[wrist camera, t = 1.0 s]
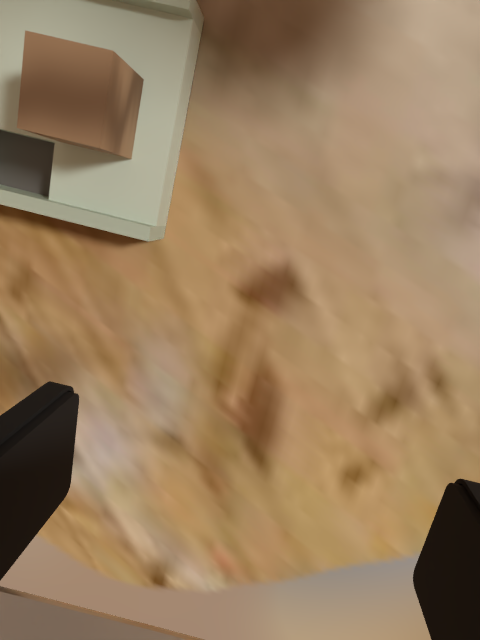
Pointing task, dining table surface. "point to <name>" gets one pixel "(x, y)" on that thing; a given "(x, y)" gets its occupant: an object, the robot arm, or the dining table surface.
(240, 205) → the dining table surface
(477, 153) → the dining table surface
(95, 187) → the trap board
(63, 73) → the walnut block
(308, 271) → the dining table surface
